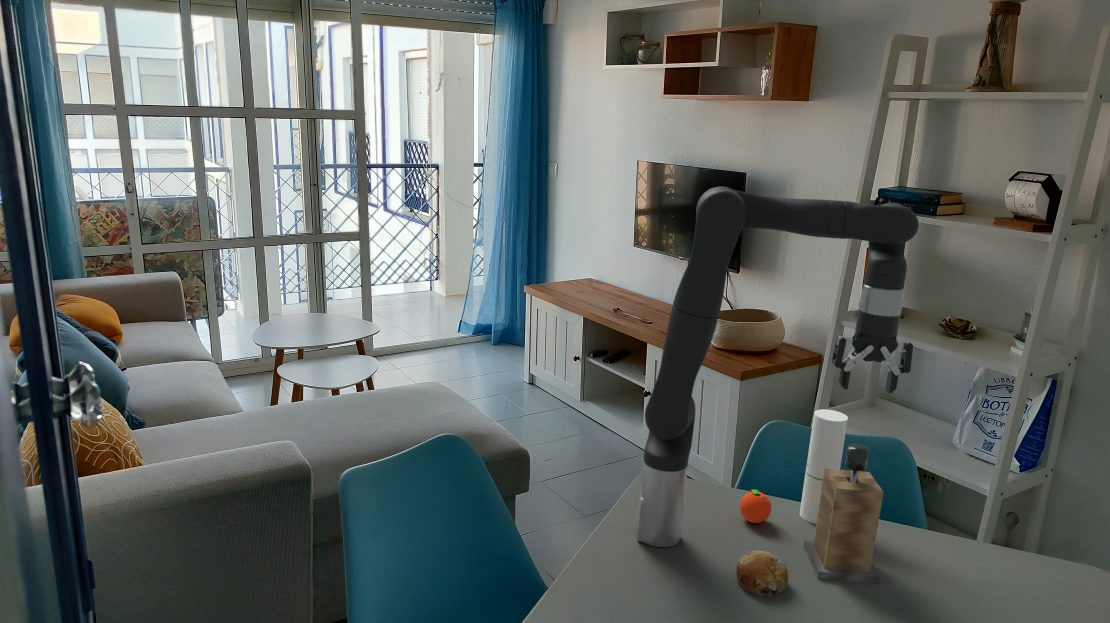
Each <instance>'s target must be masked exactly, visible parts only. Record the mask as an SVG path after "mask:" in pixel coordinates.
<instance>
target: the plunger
mask: <svg viewBox="0 0 1110 623" xmlns="http://www.w3.org/2000/svg"><path fill="white" fill-rule="evenodd" d="M869 453H870V448H869V447H868V446H866V445H863V444H860V443H849V444H848V445H847V450H846V454H845V455H846V456H845V462H844V465H845V467H846V468H848V469H850V471H851V477H850V482H853V483H856V481H857V475H858V471H862V472H864V471H866V470H867V466H868V460H869V455H870V454H869Z"/></svg>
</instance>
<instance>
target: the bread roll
mask: <svg viewBox="0 0 1110 623" xmlns="http://www.w3.org/2000/svg"><path fill="white" fill-rule="evenodd" d="M736 564H737V565H736V578H737V582H738V585H739V586H740V587H741V588H742V589H743V590H745V591H746V592H748V593H750V594H752V595H758V596H761V597H767V598H769V597H773V596H777V595H779V594H780V593H782V592H783V591H784V590H785V589H787V587H788V584H789V571H788V569H787V566H786V564H785V563H784V562H783V561H782V559H781V558H780V557H778V556H776V555H774V554H772V553H771V552H768V551H766V550H765V551H764V550H750V551H749V552H747V553H745V554H743V556H742V557H741V558H739V559H738V560H737V563H736Z"/></svg>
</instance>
